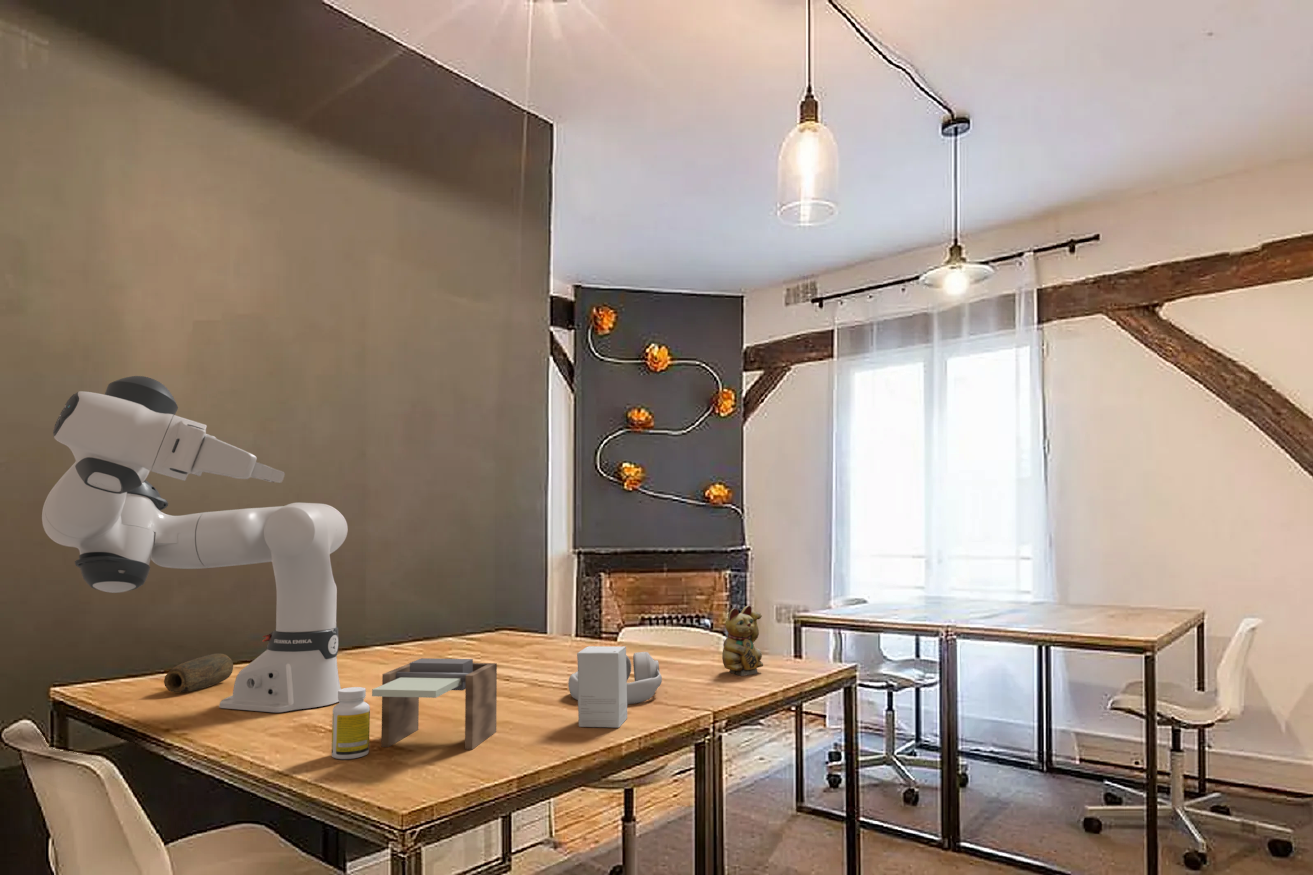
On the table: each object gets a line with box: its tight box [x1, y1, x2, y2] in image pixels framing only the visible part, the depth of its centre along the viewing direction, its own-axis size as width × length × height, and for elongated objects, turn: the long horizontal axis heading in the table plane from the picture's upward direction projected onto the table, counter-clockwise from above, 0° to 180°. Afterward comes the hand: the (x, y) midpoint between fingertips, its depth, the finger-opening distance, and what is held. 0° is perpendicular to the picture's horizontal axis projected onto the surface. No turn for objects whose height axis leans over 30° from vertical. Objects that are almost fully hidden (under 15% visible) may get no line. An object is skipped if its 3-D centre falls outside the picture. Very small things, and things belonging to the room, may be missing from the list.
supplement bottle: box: [331, 686, 371, 760], centre depth 131 cm, size 5×5×10 cm
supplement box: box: [576, 645, 628, 729], centre depth 149 cm, size 7×7×13 cm
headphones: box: [567, 651, 663, 705], centre depth 172 cm, size 18×8×20 cm
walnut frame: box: [380, 662, 498, 751], centre depth 140 cm, size 11×15×11 cm
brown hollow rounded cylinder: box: [163, 653, 234, 693], centre depth 184 cm, size 15×7×7 cm, turn 173°
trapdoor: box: [371, 657, 474, 699], centre depth 134 cm, size 16×12×4 cm
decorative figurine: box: [721, 605, 764, 676], centre depth 194 cm, size 10×8×15 cm
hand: (280, 477), depth 133 cm, fingers open, 8 cm apart
